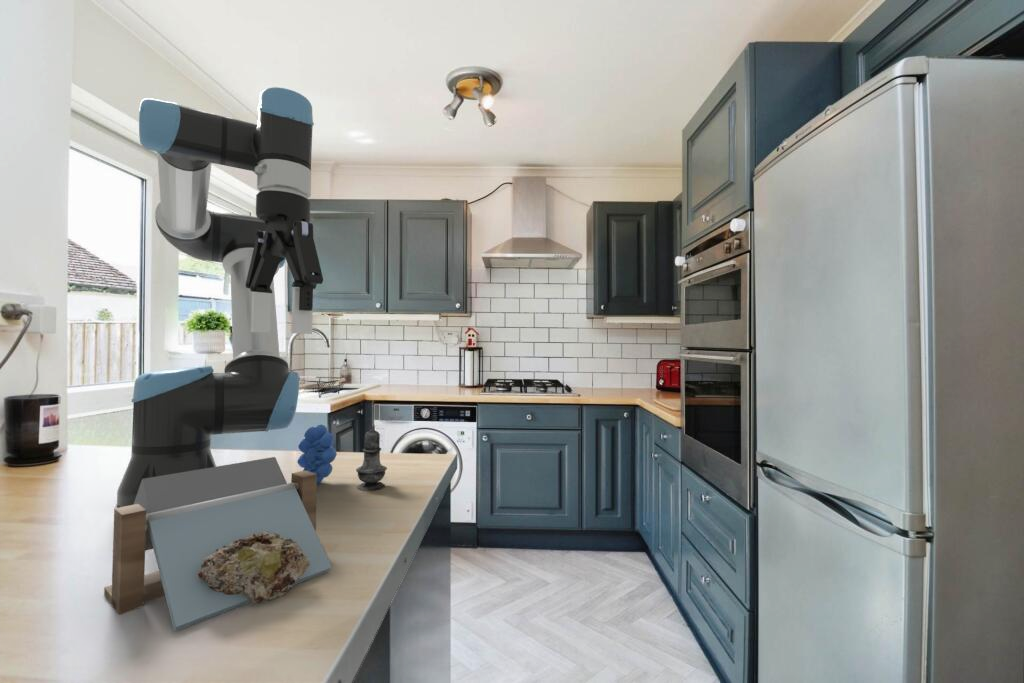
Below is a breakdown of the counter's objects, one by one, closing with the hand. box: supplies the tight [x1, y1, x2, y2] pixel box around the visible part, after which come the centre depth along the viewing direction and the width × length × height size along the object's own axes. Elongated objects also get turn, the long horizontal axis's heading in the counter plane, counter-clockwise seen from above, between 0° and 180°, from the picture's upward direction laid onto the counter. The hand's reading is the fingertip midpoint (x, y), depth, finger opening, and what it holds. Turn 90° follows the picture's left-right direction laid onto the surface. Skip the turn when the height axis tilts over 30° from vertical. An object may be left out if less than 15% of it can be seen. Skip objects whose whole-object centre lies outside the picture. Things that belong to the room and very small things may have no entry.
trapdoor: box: [134, 456, 333, 632], centre depth 57 cm, size 18×16×8 cm
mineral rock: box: [198, 531, 310, 604], centre depth 52 cm, size 11×4×8 cm
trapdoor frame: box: [103, 470, 318, 615], centre depth 58 cm, size 6×21×10 cm, turn 142°
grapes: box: [296, 424, 338, 485], centre depth 95 cm, size 12×7×12 cm, turn 53°
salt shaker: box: [355, 425, 388, 492], centre depth 93 cm, size 6×6×12 cm
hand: (279, 333), depth 73 cm, fingers open, 13 cm apart
